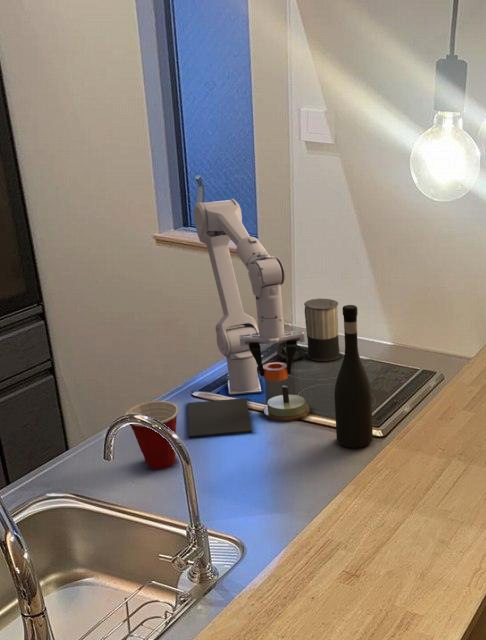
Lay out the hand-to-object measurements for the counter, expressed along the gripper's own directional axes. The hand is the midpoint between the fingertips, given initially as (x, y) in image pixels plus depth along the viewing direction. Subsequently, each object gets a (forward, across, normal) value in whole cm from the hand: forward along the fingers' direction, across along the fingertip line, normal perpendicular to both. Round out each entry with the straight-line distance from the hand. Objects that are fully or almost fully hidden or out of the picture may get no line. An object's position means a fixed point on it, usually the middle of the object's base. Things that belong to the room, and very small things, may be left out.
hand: (275, 373), depth 198 cm
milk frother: (+10, +12, +38) cm, 41 cm away
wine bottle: (+10, +15, -20) cm, 27 cm away
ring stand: (+10, +2, 0) cm, 10 cm away
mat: (+10, -14, 0) cm, 17 cm away
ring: (+1, 0, 0) cm, 1 cm away
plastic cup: (+10, -27, -22) cm, 36 cm away
